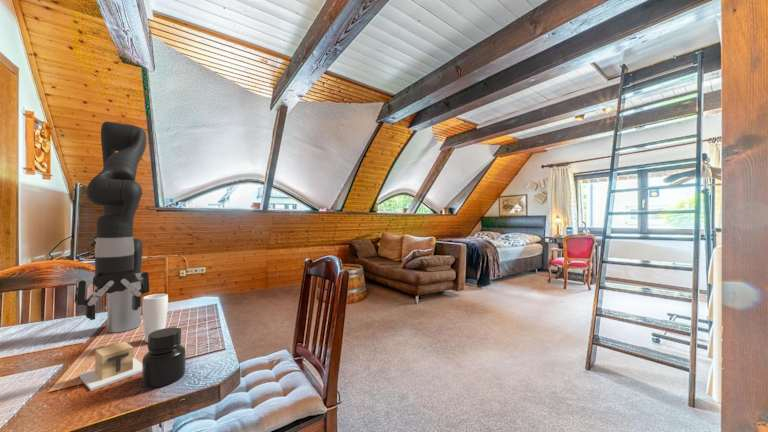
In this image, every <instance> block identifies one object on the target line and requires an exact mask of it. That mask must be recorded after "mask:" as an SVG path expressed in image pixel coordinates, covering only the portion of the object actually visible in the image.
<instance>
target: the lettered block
mask: <svg viewBox="0 0 768 432" xmlns="http://www.w3.org/2000/svg"><path fill="white" fill-rule="evenodd" d="M94 357H95V358H94V360H95V362H94V364H95V365H94V369H95V373H96V374H97V375H98V376H99V377H100V378H101V379H102V380H104V379H106V378H109V377H112V376H115V375H118V374H121V373H123V372H126V371H129V370H132V369H133V357H134V347H133V346H132V345H131V344H130V343H128V342H127V341H123V342H119V343H115V344H111V345H108V346H105V347H102V348H97V349H95V353H94Z"/></svg>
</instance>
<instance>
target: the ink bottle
mask: <svg viewBox="0 0 768 432" xmlns="http://www.w3.org/2000/svg"><path fill="white" fill-rule="evenodd" d="M181 341H182V329H181V328H180V327H175V326H174V327H166V328H164V329H160V330H157V331H154V332H152V333H150V334H149V335H148V343H147V353H146V354H145V355H144V356H143V357H142V362H141V363H142V372H141V380H142V381H141V384H142V385H143V386H144V387H146V388H150V389H151V388H161V387H163V386H164V387H165V386H166V385H169V384H173V383H174V382H177V381H179V379H181V378H183V377H184V375H185V374H186V348H185V347H184V345H181V343H182V342H181Z"/></svg>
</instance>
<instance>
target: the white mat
mask: <svg viewBox="0 0 768 432" xmlns="http://www.w3.org/2000/svg"><path fill="white" fill-rule="evenodd" d="M140 373H141V374H142V362H141V361H139V360H138V359H137V358H135V357H134V356H133V369H132V370H129V371H126V372H123V373H121V374H118V375H115V376H112V377H109V378H106V379H104V380H102V379H101V378H100V377H99V376H98V375H97V374H96V373H95V368H94V369H90V370H88V371H85V372H82V373H79V374H78V378H79V379H80V380H81V381H82V382H83V384H84V385H85V386H86V387H87V388H88V390H89V391H90V392H92V391H95V390H96V389H100V388H103V387H106V386H108V385H111V384H114V383H116V382H119V381H121V380H125V379H126V378H131V377H133V376H135V375H138V374H140Z"/></svg>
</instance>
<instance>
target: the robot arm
mask: <svg viewBox="0 0 768 432" xmlns="http://www.w3.org/2000/svg"><path fill="white" fill-rule="evenodd" d="M146 134H147V133H146V131H145V129H144V128H142V127H139V126H137V125H131V124H125V123H120V122H115V121H107V120H106V121H104V122H103V123H102V124H101V128H100V142H101V156H102V165H103V168H102V170H101V171H100V172H99V173H98V174H96V175H95V176H94V177H93V178H92V179H91V180H90V181H89V183H88V185H87V187H86V196H87V199H88V200H89V201H90V202H91V203H93V204H95V205H97V206H102V208H103V215H100V216H98V218H97V219H96V239H95V240H96V241H95V245H94V276H93V278H92V279H81V278H80V279H77V280H76V282H75V293H74V303H75V304H76V305H78V306H85V317H86V318H87V319H89V321H93V320H96V305H95V303H96V302H98V300H99V299H100V298H102V296H103V295H104V294H107V323H106V324H107V328H106V329H107V333H113V334H114V333H122V332H128V331H131V330H135V329H136V328H139V327H140V326H141V324H142V318H141V317H142V296H143V295H144V294H148V293H149V292H150V281H149V280H150V277H149V272H147V271H144V270H142V259H143V242H142V240H141V239H140V238H134V219H135V214H136V212H137V210H138V208H139V205H140V201H141V199H142V196H143V189H142V186H141V185H140V184H139V183H138V181H136V179H137V178H136V176H137V170H138V165H139V163H140V161H141V160H142V157H143V155H144V153H145V151H146V146H147V135H146ZM90 285H94V286H95V289H94V290H93V291H91V294H90V295H89V296H88V297H87V298H85V294H86V289H88V288H90Z"/></svg>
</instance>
